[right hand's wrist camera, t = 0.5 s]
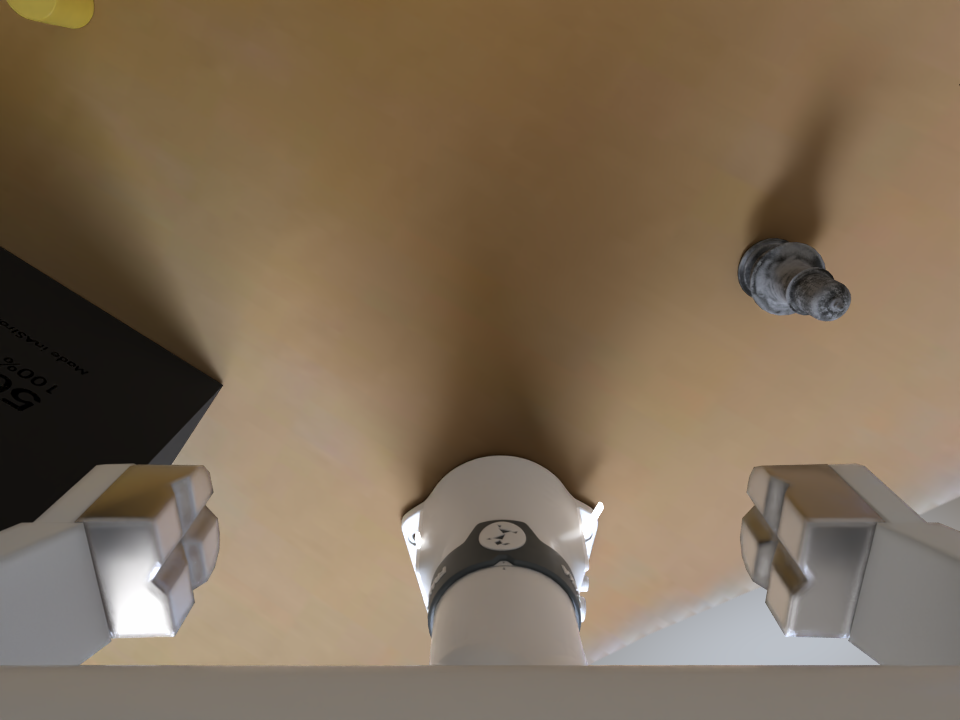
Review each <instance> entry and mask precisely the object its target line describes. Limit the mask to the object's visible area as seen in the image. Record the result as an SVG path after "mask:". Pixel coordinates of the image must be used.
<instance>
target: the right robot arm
mask: <svg viewBox="0 0 960 720" xmlns="http://www.w3.org/2000/svg"><path fill="white" fill-rule="evenodd" d="M212 494H213V488H212V483H211V477H210V473H209V471H208V470H207V469H206V468H205V467H204V466H202V465H149V464H138V465H136V464H104V465H96V466H95V467H94V468H93V469H92V470H91V471H90V472H89V473H87V474H86V475H85V476H84V477H83V478H82V479H81V480H80V481H79V482H77V483H76V484H75V485H74V486H73V487H72V488H71V489H70V490H69V491H67V492H66V493H65V494H64V495H63V496H62V497H61V498H60V499H59V500H57V501H56V502H55V503H54V504H53V505H52V506H51V507H50V508H49V509H47V510H46V511H45V512H44V513H43V514H42V515H41V516H40V517H39V518H37V519H36V520H35V521H34V522H33V523H20V524H17V525H15V526H12V527H10V528H7V529H5V530H2V531H0V720H960V531H958V530H955V529H953V528H950V527H948V526H945V525H943V524H940V523H927V522H926V521H925V520H924V519H923V518H921V517H920V516H919V515H918V514H917V513H916V512H915V511H914V510H913V509H912V508H910V507H909V506H908V505H907V504H906V503H905V502H904V501H903V500H902V499H900V498H899V497H898V496H897V495H896V494H895V493H894V492H893V491H892V490H890V489H889V488H888V487H887V486H886V485H885V484H884V483H883V482H882V481H881V480H879V479H878V478H877V477H876V476H875V475H874V474H873V473H872V472H871V471H869V470H868V469H867V468H866V467H865V466H862V465H859V464H856V463H853V464H831V465H828V464H814V465H773V466H758V467H754V468H753V470H752V472H751V474H750V477H749V481H748V487H747V494H748V495H749V497H750V498H751V500H752V501H753V503H754V504H755V505H754V507H753V508H752V509H751V510H750V511H749V512H748V513H747V514H746V515H745V516H744V517H743V518H742V526H741V534H740V542H741V552H742V558H743V561H744V564H745V567H746V570H747V572H748V573H749V575H750V577H751V579H752V581H753V582H755V583H757V584H758V585H760V586H761V587H763V588H765V589H766V590H767V595H766V601H765V603H766V605H767V606H768V608H769V610H770V611H771V613H772V615H773V616H774V618H775V620H776V621H777V623H778V625H779V626H780V628H781V630H782V631H783V633H784V635H785V636H787V637H823V638H849V642H851V643H852V644H853V645H855V646H856V647H857V648H859V649H860V650H861V651H863V652H864V653H865V654H867V655H868V656H869V657H871V658H872V659H873V660H875V661H876V662H877V663H879V664H880V665H588V663H587V660H586V657H585V653H584V649H583V646H582V642H581V638H580V633H579V632H580V627H581V622H583V621H584V619H585V614H586V601H585V598H584V597H583V596H579V594H580V591H582V592H587V591H588V587H589V578H588V576H585V572H586V571H587V570H588V569H589V557H590V553H591V550H592V546H593V542H594V539H595V535H596V531H597V528H598V516H599V515H600V513H601V512H602V510H603V504H602V503H601V502H599V503H598V505H597V506H596V508H595V509H594V510H593V509H592V508H591V507H589V506H588V505H586V504H584V503H582V502H580V501H579V500H577V499H575V498H574V497H573V496H572V495H571V494H570V493H569V492H568V491H567V489H566V488H565V487H564V485H563V484H562V483H561V481H560V480H559V479H558V478H557V477H556V476H555V475H554V474H552V473H551V472H550V471H549V470H547V469H546V468H544V467H542V466H541V465H539V464H537V463H535V462H532V461H530V460H527V459H523V458H519V457H514V456H504V455H497V456H487V457H481V458H477V459H474V460H471V461H469V462H466V463H464V464H462V465H460V466H458V467H456V468H455V469H453V470H452V471H450V472H449V473H448V474H447V475H446V476H445V477H443V478H442V479H441V481H440V482H439V483H438V484H437V485H436V487H435V488H434V490H433V491H432V493H431V494H430V495H429V497H428V498H427V499H426V500H425V501H424V502H423V503H421V504H419V505H418V506H416V507H414V508H413V509H411V510H410V511H408V512H407V513H406V514H405V515H404V516H403V518H402V532H403V535H404V538H405V541H406V545H407V548H408V551H409V554H410V558H411V561H412V564H413V567H414V570H415V574H416V577H417V580H418V583H419V586H420V590H421V593H422V596H423V599H424V603H425V606H426V609H427V612H428V627H429V633H430V636H431V649H430V661H429V665H80V664H82V663H83V662H84V661H86V660H87V659H88V658H90V657H91V656H92V655H94V654H95V653H96V652H98V651H99V650H100V649H102V648H103V647H104V646H106V645H107V644H108V643H110V642H111V638H136V637H171V636H175V635H176V633H177V632H178V630H179V628H180V626H181V625H182V623H183V621H184V620H185V618H186V616H187V615H188V613H189V611H190V610H191V608H192V606H193V605H194V603H195V601H194V595H193V590H194V589H195V588H197V587H199V586H200V585H202V584H203V583H205V582H207V581H208V579H209V577H210V575H211V573H212V571H213V570H214V568H215V564H216V560H217V556H218V552H219V540H220V532H219V525H218V518H217V517H216V516H215V515H214V514H213V513H212V512H211V511H210V510H209V509H208V508H207V507H206V505H205V504H206V503H207V501H208V500H209V498H210V497H211V495H212ZM414 533H416V535H414Z"/></svg>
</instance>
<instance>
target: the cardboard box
mask: <svg viewBox="0 0 960 720" xmlns="http://www.w3.org/2000/svg"><path fill="white" fill-rule="evenodd" d="M0 319H1V320H0V322H1V321H5V322H7V323H8V325H7V326H3V325H6V323H2V324H3V325H1V324H0V374H1V375H0V388H1V386H2V385H3V386H4V387H3V389H8V388H7V387H6V386H8V387H10V388H9V389H8V390H6V391H4V392H3V389H2V390H1V391H0V531H2V530H5V529H7V528H10V527H12V526H15V525H17V524H20V523H33V522H34V521H35V520H36V519H37V518H39V517H40V516H41V515H42V514H43V513H44V512H45V511H46V510H47V509H49V508H50V507H51V506H52V505H53V504H54V503H55V502H56V501H57V500H59V499H60V498H61V497H62V496H63V495H64V494H65V493H66V492H67V491H69V490H70V489H71V488H72V487H73V486H74V485H75V484H76V483H77V482H79V481H80V480H81V479H82V478H83V477H84V476H85V475H86V474H87V473H89V472H90V471H91V470H92V469H93V468H94V467H95V466H96V465H104V464H136V465H138V464H149V465H171V464H172V463H173V461H174V460H175V458H176V457H177V455H178V453H179V452H180V450H181V449H182V447H183V446H184V444H185V443H186V441H187V440H188V438H189V437H190V435H191V434H192V432H193V431H194V429H195V427H196V426H197V424H198V423H199V421H200V420H201V418H202V417H203V415H204V414H205V412H206V411H207V409H208V408H209V406H210V405H211V403H212V401H213V400H214V398H215V397H216V395H217V394H218V392H219V391H220V389H221V388H222V386H223V385H222V384H220V383H219V382H217V381H215V380H214V379H212V378H211V377H209V376H207V375H206V374H204V373H203V372H201V371H199V370H198V369H196V368H195V367H193V366H191V365H190V364H188V363H186V362H185V361H183V360H182V359H180V358H178V357H177V356H175V355H174V354H172V353H170V352H169V351H167V350H166V349H164V348H162V347H161V346H159V345H158V344H156V343H154V342H153V341H151V340H149V339H148V338H146V337H145V336H143V335H141V334H140V333H138V332H137V331H135V330H133V329H132V328H130V327H129V326H127V325H125V324H124V323H122V322H121V321H119V320H117V319H116V318H114V317H112V316H111V315H109V314H108V313H106V312H104V311H103V310H101V309H100V308H98V307H96V306H95V305H93V304H92V303H90V302H88V301H87V300H85V299H84V298H82V297H80V296H79V295H77V294H76V293H74V292H72V291H71V290H69V289H67V288H66V287H64V286H63V285H61V284H59V283H58V282H56V281H55V280H53V279H51V278H50V277H48V276H47V275H45V274H43V273H42V272H40V271H39V270H37V269H35V268H34V267H32V266H30V265H29V264H27V263H26V262H24V261H22V260H21V259H19V258H18V257H16V256H14V255H13V254H11V253H10V252H8V251H6V250H5V249H3V248H2V247H0ZM12 328H13V329H12ZM10 329H11V330H10ZM16 329H18V330H19V331H17V332H16V333H11V332H12V330H13V331H14V330H16ZM18 332H23V333H25V334H26V335H27V336H30V339H32V340H36V341H38V342H40V343H39V344H37V345H38V346H41V345H42V347H41V348H40V347H38V346H36V345H35V343H36V342H26V339H27V336H25V335H24V334H22V333H21V335H22V338H19V337H16V336H15V335H17V336H20V335H19V334H18ZM40 350H41V351H40ZM51 352H52V353H53V352H57V353H58V354H59V355H60V356H59V357H55V356H53V355H54V354H56V353H54V354H53V355H51ZM56 355H57V354H56ZM62 356H63V357H65V358H67V359H68V361H67V362H63V361H64V360H65V358H62V360H63V361H61V360H59V361H57V360H56V359H58V358H60V357H62ZM6 357H7V358H12V359H13V362H12V363H10V362H8V361H11V360H10V359H7V360H5V359H4V358H6ZM69 361H71V362H73V363H74V364H73V363H70V365H75V367H72V366H70V365H68V364H67V363H68V362H69ZM18 363H19V364H21V365H13V364H18ZM1 364H3V365H1ZM7 367H8V368H9V369H7ZM23 369H30V370H23ZM74 369H75V370H74ZM17 373H18V374H20V375H19V376H18V374H17ZM2 374H3V375H5V377H3V376H2ZM22 376H23V377H25V378H22ZM37 376H40V377H44V378H45V379H46V380H47V383H44V382H43V381H44V380H43V379H42V378H39V379H38V378H37ZM7 378H9V379H7ZM54 385H57V386H58V387H56V388H53V386H54ZM46 390H47V391H49V393H48V392H47V391H46ZM31 392H34V393H31ZM37 395H38V396H39V397H38V396H37ZM2 399H3V401H2ZM4 401H7V402H8V404H13V405H14V407H13V406H10V405H8V404H7V402H4ZM16 408H20V409H21V411H20V410H19V409H18V410H17V409H16Z"/></svg>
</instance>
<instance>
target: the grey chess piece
mask: <svg viewBox="0 0 960 720" xmlns="http://www.w3.org/2000/svg"><path fill="white" fill-rule="evenodd" d="M738 279H739V283H740V285H741V287H742V289H743V290H744V291H745V292H746V293H747V294H748V295H749V296H751V297H753V299H754V300H755V302H756V303H757V304H758V305H759V307H760V308H761V309H763V310H765V311H767V312H769V313H771V314H776V315H790V314H793V313H798V314H801V315H811V316H812V317H814V318H816V319H818V320H821V321H832V320H836V319H838V318H839V317H841V316H842V315H843V314H844V313H845V312H846V311H847V310H848V308H849V306H850V302H851V294H850V292H849V290H848V289H847V287H846V286H845V285H843V284H842V283H840V282H838V281H836V280H834V278H833V276H832V275H831V274H830V273H829V272H828V271H827V270H825V264H824V262H823V259H822V257H821V255H820V254H819V253H818V252H817V251H816V250H815V249H814V248H812V247H810V246H808V245H807V244H803V243H798V242H788V241H786V240H783V239H778V238H772V239H766V240H763V241H760V242H758V243H756V244H755V245H753V246H752V247H751V248H750V249H749V250H748V251H747V252H746V253H745V254H744V256H743V257H742V259H741V262H740V264H739V267H738Z"/></svg>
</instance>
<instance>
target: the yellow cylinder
mask: <svg viewBox="0 0 960 720" xmlns="http://www.w3.org/2000/svg"><path fill="white" fill-rule="evenodd" d="M6 1H7V2H8V4H9V5H10V7H11V8H12V9H13V10H14V11H15V12H16V13H17V14H19V15H20V16H22V17H24V18H26V19H29V20H33V21H38V22H43V23H47V24H52V25H57V26H61V27H66V28H71V29H77V28H81V27H83V26H85V25H86V24H87V23H88V22H89V21H90V20H91V18H92V16H93V12H94V1H93V0H6Z"/></svg>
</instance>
